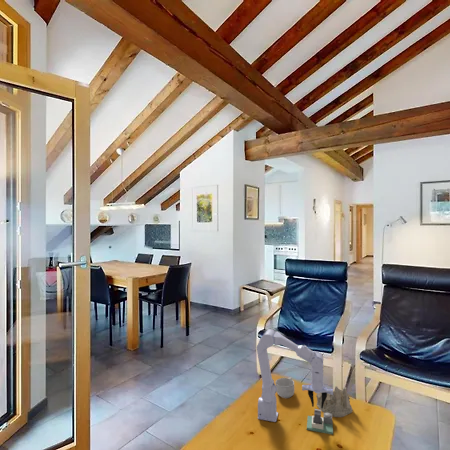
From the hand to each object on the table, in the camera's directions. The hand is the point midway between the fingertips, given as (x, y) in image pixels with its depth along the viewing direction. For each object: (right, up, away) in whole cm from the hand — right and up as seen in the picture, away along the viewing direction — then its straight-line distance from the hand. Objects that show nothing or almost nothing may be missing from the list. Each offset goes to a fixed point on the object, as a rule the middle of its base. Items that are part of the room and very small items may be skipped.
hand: (317, 406), depth 153 cm
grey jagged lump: (+14, -10, +15) cm, 23 cm away
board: (+1, -10, +1) cm, 10 cm away
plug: (0, -9, 0) cm, 9 cm away
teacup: (-9, -10, +29) cm, 32 cm away
